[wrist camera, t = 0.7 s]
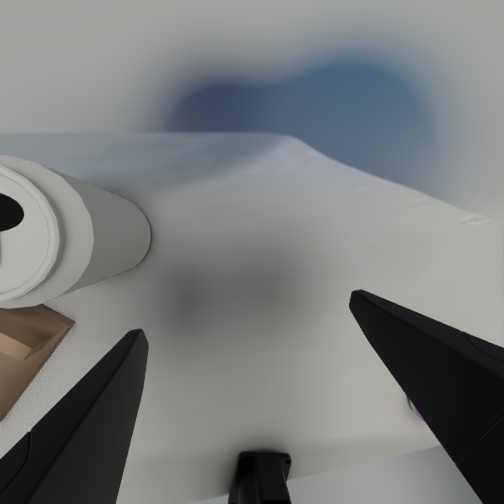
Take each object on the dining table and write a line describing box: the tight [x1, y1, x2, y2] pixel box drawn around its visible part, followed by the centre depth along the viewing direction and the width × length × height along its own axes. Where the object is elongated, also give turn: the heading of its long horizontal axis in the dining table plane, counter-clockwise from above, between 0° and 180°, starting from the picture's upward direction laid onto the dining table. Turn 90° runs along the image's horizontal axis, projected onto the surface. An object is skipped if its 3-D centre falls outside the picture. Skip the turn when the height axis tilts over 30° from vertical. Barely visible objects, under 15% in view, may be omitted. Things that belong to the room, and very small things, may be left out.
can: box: [0, 156, 151, 309], centre depth 14 cm, size 8×8×12 cm
